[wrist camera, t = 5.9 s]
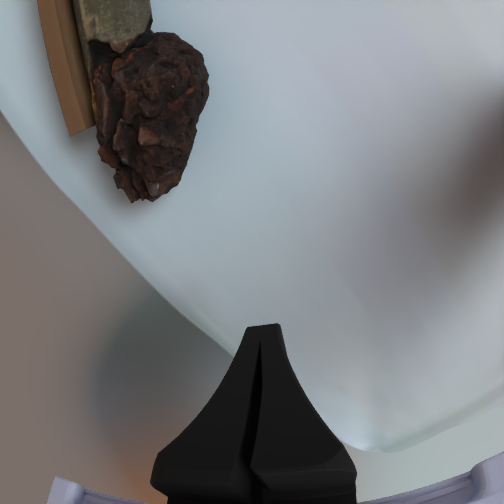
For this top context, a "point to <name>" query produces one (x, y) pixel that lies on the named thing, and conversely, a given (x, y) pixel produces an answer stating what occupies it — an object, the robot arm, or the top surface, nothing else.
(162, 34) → the brown rock
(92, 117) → the corner fence
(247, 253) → the top surface
